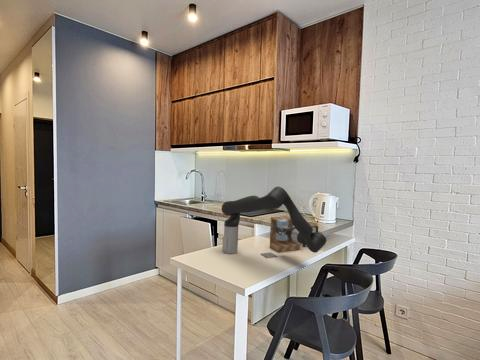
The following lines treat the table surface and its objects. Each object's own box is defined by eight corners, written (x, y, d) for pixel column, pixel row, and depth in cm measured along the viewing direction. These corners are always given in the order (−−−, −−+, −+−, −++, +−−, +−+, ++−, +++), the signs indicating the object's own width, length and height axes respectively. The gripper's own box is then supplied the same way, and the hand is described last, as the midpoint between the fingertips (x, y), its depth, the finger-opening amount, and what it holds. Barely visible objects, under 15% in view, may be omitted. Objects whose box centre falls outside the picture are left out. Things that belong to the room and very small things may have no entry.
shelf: (278, 252, 183) (279, 220, 182) (269, 248, 193) (270, 217, 192) (300, 250, 191) (302, 218, 190) (290, 245, 201) (292, 216, 200)
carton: (280, 241, 171) (281, 221, 170) (276, 238, 175) (277, 219, 174) (287, 240, 173) (288, 221, 172) (282, 238, 177) (283, 219, 177)
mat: (266, 258, 172) (266, 257, 172) (260, 254, 179) (260, 253, 179) (277, 256, 175) (277, 256, 175) (270, 252, 182) (270, 252, 182)
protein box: (316, 242, 211) (317, 222, 211) (317, 248, 196) (318, 226, 196) (302, 241, 214) (303, 221, 213) (302, 247, 199) (303, 225, 198)
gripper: (306, 227, 164) (289, 221, 179) (287, 229, 157) (270, 223, 173) (306, 240, 164) (288, 233, 180) (286, 242, 158) (269, 235, 173)
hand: (279, 228), depth 176 cm, fingers closed on carton, 5 cm apart
